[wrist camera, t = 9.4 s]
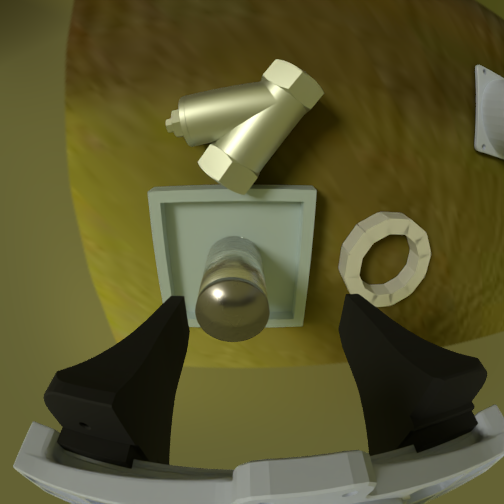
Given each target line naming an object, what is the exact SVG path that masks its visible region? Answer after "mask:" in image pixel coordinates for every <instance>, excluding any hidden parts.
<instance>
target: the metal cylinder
mask: <svg viewBox="0 0 504 504" xmlns="http://www.w3.org/2000/svg"><path fill="white" fill-rule="evenodd" d="M195 315H196V319H197V322H198V324H199V325H200V327H201V328H202V329H203V330H204V331H205V332H206V333H207V334H209V335H210V336H212V337H214V338H216V339H219V340H222V341H227V342H239V341H244V340H247V339H250V338H252V337H254V336H256V335H257V334H259V333H260V332H261V331H262V330H263V329H264V327H265V326H266V324H267V322H268V320H269V315H270V310H269V303H268V297H267V290H266V284H265V277H264V271H263V264H262V258H261V253H260V251H259V249H258V247H257V246H256V245H255V244H254V243H253V242H252V241H250V240H249V239H247V238H244V237H241V236H227V237H224V238H222V239H220V240H218V241H217V242H215V243H214V244H213V245H212V247H211V248H210V250H209V252H208V256H207V260H206V264H205V268H204V272H203V276H202V281H201V285H200V289H199V293H198V298H197V302H196V307H195Z"/></svg>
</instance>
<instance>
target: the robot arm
mask: <svg viewBox="0 0 504 504" xmlns="http://www.w3.org/2000/svg"><path fill="white" fill-rule="evenodd" d="M483 72H484V73H483ZM475 78H476V126H475V142H474V147H475V149H476V150H477V151H479V152H483V153H486V154H489V155H492V156H495V157H498V158H501V159H504V78H502V77H501V76H499V75H497V74H496V73H494V72H492V71H490V70H488V69H487V68H485V67H483V66H481V65H476V66H475ZM482 145H483V148H482ZM189 332H190V331H189V325H188V319H187V312H186V305H185V298H184V296H170V297H169V298H168V299H167V300H166V301H165V302H164V303H163V304H162V305H161V306H160V307H159V308H158V309H157V310H156V311H155V312H154V313H153V314H152V315H151V316H150V317H149V318H148V319H147V320H146V321H145V322H144V323H143V324H142V325H140V326H139V327H138V328H137V329H136V330H135V331H134V332H132V333H131V334H130V335H129V336H127V337H126V338H125V339H123V340H122V341H120V342H119V343H117V344H116V345H114V346H113V347H111V348H109V349H108V350H106V351H104V352H103V353H101V354H99V355H97V356H96V357H93V358H91V359H89V360H87V361H85V362H83V363H80V364H78V365H75V366H72V367H69V368H66V369H63V370H60V371H57V373H56V374H55V376H54V378H53V379H52V381H51V383H50V385H49V387H48V389H47V390H46V392H45V394H44V401H45V404H46V406H47V407H48V409H49V410H50V412H51V413H52V414H53V416H54V417H55V418H56V419H57V421H58V422H59V423H60V424H61V426H63V428H62V430H61V433H59V432H58V431H56V430H55V429H52V428H50V427H47V426H44V425H42V424H39V423H37V422H32V425H31V427H30V429H29V431H28V433H27V435H26V438H25V439H24V442H23V444H22V446H21V449H20V451H19V453H18V456H17V458H16V460H15V463H14V466H13V467H14V469H16V470H17V471H18V472H19V473H21V474H22V475H23V476H25V477H26V478H27V479H29V480H30V481H31V482H33V483H34V484H35V485H37V486H38V487H40V488H41V489H42V490H44V491H45V492H47V493H49V494H51V495H53V496H56V497H58V498H60V499H62V500H65V501H67V502H69V503H71V504H425V503H427V502H429V501H431V500H433V499H435V498H438V497H440V496H441V495H444V494H446V493H448V492H450V491H451V490H453V489H455V488H457V487H459V486H461V485H463V484H465V483H466V482H468V481H470V480H472V479H473V478H475V477H477V476H479V475H480V474H482V473H484V472H485V471H487V470H488V469H489V468H490V467H491V466H493V465H494V464H495V463H496V462H498V461H499V460H500V459H501V458H502V457H503V456H504V417H503V416H502V414H501V412H500V410H499V409H498V407H497V405H492V406H490V407H488V408H486V409H484V410H482V411H480V412H478V413H477V414H476V415H475V416H474V414H473V413H472V410H473V409H474V405H473V403H472V400H473V399H474V397H475V396H476V395H477V393H478V392H479V390H480V389H481V388H482V386H483V384H484V383H485V380H486V377H487V371H486V370H485V368H484V367H483V365H482V364H481V362H480V361H479V359H478V358H475V357H471V356H466V355H462V354H459V353H456V352H453V351H450V350H447V349H444V348H442V347H439V346H437V345H435V344H433V343H430V342H428V341H426V340H424V339H422V338H420V337H419V336H417V335H415V334H413V333H412V332H410V331H408V330H407V329H405V328H404V327H402V326H401V325H399V324H398V323H396V322H395V321H393V320H392V319H391V318H389V317H388V316H387V315H385V314H384V313H383V312H382V311H380V310H379V309H378V308H376V307H375V306H374V305H373V304H371V303H370V302H369V301H368V300H366V299H365V298H364V297H362V296H361V295H359V294H346V296H345V301H344V306H343V311H342V316H341V320H340V325H339V334H340V338H341V343H342V347H343V350H344V352H345V355H346V358H347V360H348V363H349V365H350V368H351V370H352V373H353V376H354V378H355V381H356V384H357V387H358V390H359V394H360V398H361V403H362V407H363V412H364V418H365V424H366V430H367V438H368V447H369V453H366V452H363V451H360V450H351V451H342V452H336V453H328V454H321V455H313V456H303V457H292V458H278V459H264V460H255V461H250V462H247V463H244V464H241V465H239V466H238V467H236V469H235V470H221V469H220V470H219V469H203V468H191V467H182V466H173V465H169V451H170V435H171V425H172V415H173V407H174V400H175V394H176V389H177V385H178V382H179V378H180V375H181V371H182V367H183V364H184V360H185V356H186V352H187V347H188V340H189Z"/></svg>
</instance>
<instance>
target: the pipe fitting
mask: <svg viewBox="0 0 504 504" xmlns="http://www.w3.org/2000/svg"><path fill="white" fill-rule="evenodd" d="M323 94H324V92H323V90H322V88H321V87H320V85H319V84H318V83H317V82H316V81H315V80H314V79H313V78H312V77H311V76H309V75H308V74H307V73H306V72H304V71H303V70H301V69H300V68H298V67H297V66H295V65H293V64H291V63H289V62H286V61H283V60H278V59H276V60H275V61H274V62H273V63H272V65H271V66H270V67H269V68H268V69H267V71H266V72H265V73H264V74H263V76H262V79H261V82H254V83H248V84H241V85H236V86H230V87H224V88H219V89H214V90H209V91H205V92H200V93H196V94H192V95H187V96H183V97H181V98H180V100H179V104H178V110H174V111H172V114H171V119H167V120H166V128H167V131H168V132H169V133H171V132H174V133H175V135H176V136H177V137H183V136H184V138H185V140H186V142H187V144H188V145H189V146H191V147H193V146H198V145H202V144H207V143H211V144H210V145H209V147H208V148H207V150H206V151H205V153H204V154H203V155H202V157H201V158H200V160H199V161H198V164H199V166H200V167H201V169H202V170H203V171H204V172H205V173H206V174H208V175H209V176H210V177H211V178H213V179H214V180H215V181H217V182H218V183H220V184H221V185H223V186H224V187H226V188H227V189H229V190H231V191H233V192H235V193H238V194H241V195H245V194H246V193H247V191H248V190H249V189H250V187H251V186H252V185H253V183H254V182H255V181H256V179H257V178H258V176H259V174H260V173H259V172H260V171H261V170H262V168H263V167H264V166H265V164H266V163H267V162H268V161H269V159H270V158H271V157H272V155H273V154H274V153H275V151H276V150H277V149H278V148H279V146H280V145H281V144H282V142H283V141H284V140H285V139H286V137H287V136H288V135H289V133H290V132H291V131H292V130H293V128H294V127H295V126H296V125H297V123H298V122H299V121H300V120H301V118H302V117H303V116H304V115H305V113H307V112H308V111H310V110H311V109H312V107H313V106H314V105H315V104H316V102H317V101H318V100H319V99H320V98H321V96H322V95H323Z"/></svg>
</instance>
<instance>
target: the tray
mask: <svg viewBox="0 0 504 504" xmlns="http://www.w3.org/2000/svg"><path fill="white" fill-rule="evenodd" d="M316 194H317V190H316V189H315V188H314V187H313V186H306V185H252V186H251V187H250V189H249V190H248V191H247V193H246V194H245V195H241V194H238V193H235V192H233V191H231V190H229V189H227V188H226V187H224V186H223V185H190V186H166V187H153V188H152V189H151V190H149V191H148V200H149V210H150V219H151V228H152V236H153V244H154V251H155V258H156V265H157V271H158V277H159V284H160V289H161V295H162V301H163V303H164V302H165V301H166V300H167V299H168V298H169V297H170V296H184V298H185V305H186V312H187V319H188V325H189V327H200V325H199V324H198V322H197V319H196V315H195V307H196V302H197V298H198V293H199V289H200V285H201V281H202V276H203V272H204V268H205V264H206V260H207V256H208V252H209V250H210V248H211V247H212V245H213V244H214V243H215V242H217V241H218V240H220V239H222V238H224V237H227V236H241V237H244V238H247V239H249V240H250V241H252V242H253V243H254V244H255V245H256V246H257V247H258V249H259V251H260V253H261V258H262V264H263V271H264V277H265V284H266V290H267V297H268V303H269V310H270V315H269V320H268V322H267V324H266V326H265V327H297V326H303V320H304V313H305V305H306V297H307V289H308V280H309V271H310V262H311V252H312V242H313V231H314V220H315V207H316Z"/></svg>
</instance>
